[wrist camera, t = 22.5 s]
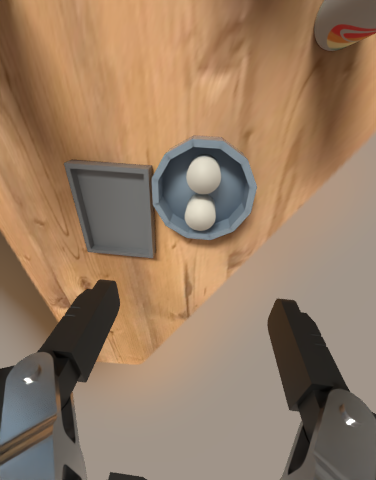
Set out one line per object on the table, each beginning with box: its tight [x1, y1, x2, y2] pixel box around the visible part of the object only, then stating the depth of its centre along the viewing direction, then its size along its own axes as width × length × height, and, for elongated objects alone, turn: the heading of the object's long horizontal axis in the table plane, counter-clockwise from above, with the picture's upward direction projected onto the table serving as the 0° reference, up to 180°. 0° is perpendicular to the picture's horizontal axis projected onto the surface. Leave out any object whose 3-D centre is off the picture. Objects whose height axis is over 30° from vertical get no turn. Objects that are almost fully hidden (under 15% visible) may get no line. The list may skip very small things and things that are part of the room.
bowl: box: [152, 135, 257, 240], centre depth 34 cm, size 16×16×4 cm
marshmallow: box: [186, 154, 221, 194], centre depth 31 cm, size 5×5×4 cm
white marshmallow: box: [185, 193, 216, 231], centre depth 35 cm, size 5×5×4 cm
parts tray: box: [64, 160, 156, 258], centre depth 39 cm, size 14×18×2 cm
